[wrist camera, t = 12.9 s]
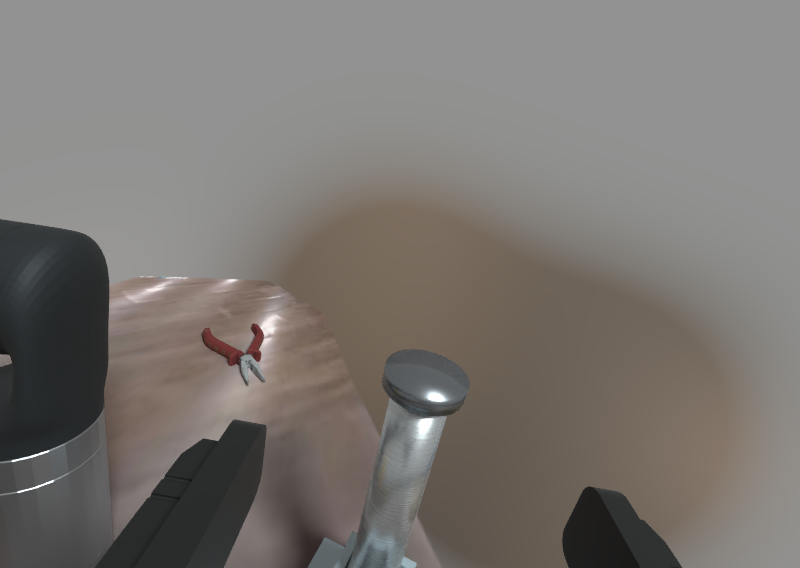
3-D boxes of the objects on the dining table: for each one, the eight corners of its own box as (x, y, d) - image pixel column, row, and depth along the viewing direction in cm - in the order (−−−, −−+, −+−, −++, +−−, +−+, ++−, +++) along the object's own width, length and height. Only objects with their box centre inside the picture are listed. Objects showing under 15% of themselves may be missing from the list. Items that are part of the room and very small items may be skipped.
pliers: (220, 395, 62) (221, 382, 61) (200, 336, 77) (201, 325, 76) (288, 382, 69) (289, 370, 68) (257, 331, 84) (258, 320, 83)
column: (323, 603, 29) (372, 377, 22) (353, 540, 34) (401, 341, 28) (388, 640, 28) (461, 412, 21) (409, 569, 33) (474, 367, 26)
